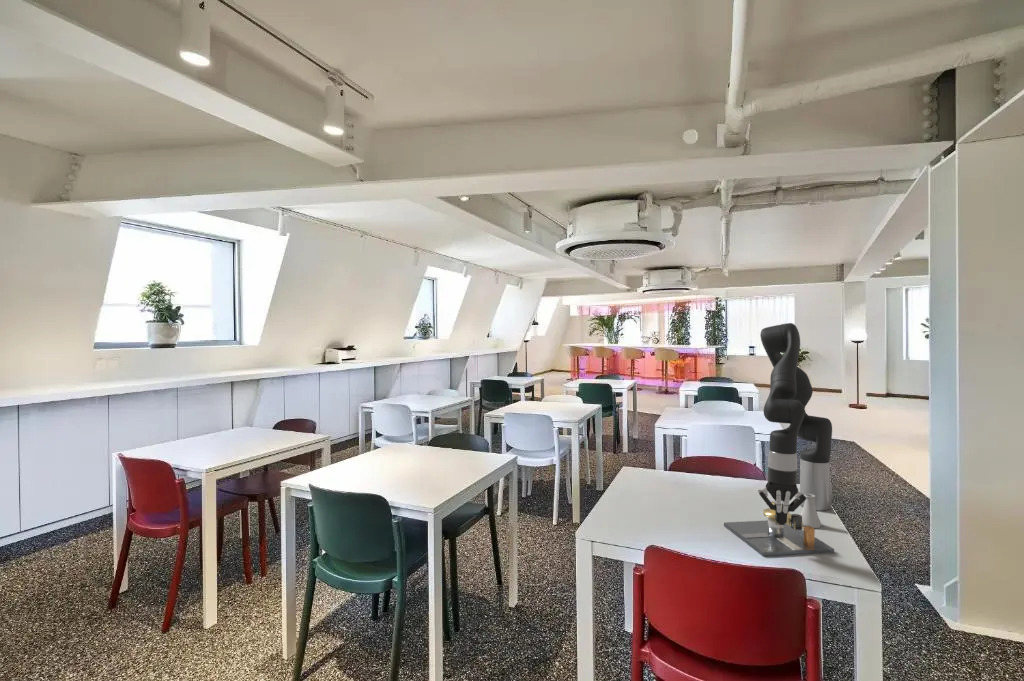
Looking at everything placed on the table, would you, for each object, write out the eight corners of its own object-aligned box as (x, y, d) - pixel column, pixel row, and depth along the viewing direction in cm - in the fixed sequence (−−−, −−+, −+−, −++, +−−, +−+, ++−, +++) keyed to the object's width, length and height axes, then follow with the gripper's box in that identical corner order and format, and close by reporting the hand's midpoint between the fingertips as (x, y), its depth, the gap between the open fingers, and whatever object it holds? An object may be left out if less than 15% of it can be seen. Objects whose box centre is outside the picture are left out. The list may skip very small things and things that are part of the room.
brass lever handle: (758, 511, 160) (759, 499, 159) (780, 511, 160) (780, 498, 160) (787, 531, 144) (787, 517, 144) (811, 531, 144) (811, 517, 144)
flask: (821, 530, 162) (822, 500, 162) (796, 526, 166) (796, 496, 166) (822, 523, 168) (822, 494, 168) (797, 518, 172) (797, 490, 172)
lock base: (785, 523, 169) (786, 502, 168) (834, 552, 147) (834, 529, 146) (723, 526, 166) (724, 505, 166) (763, 556, 144) (763, 533, 144)
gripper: (804, 464, 149) (802, 521, 150) (755, 461, 153) (754, 516, 153) (811, 472, 142) (809, 531, 142) (760, 468, 145) (758, 526, 146)
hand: (780, 523), depth 148 cm, fingers closed
